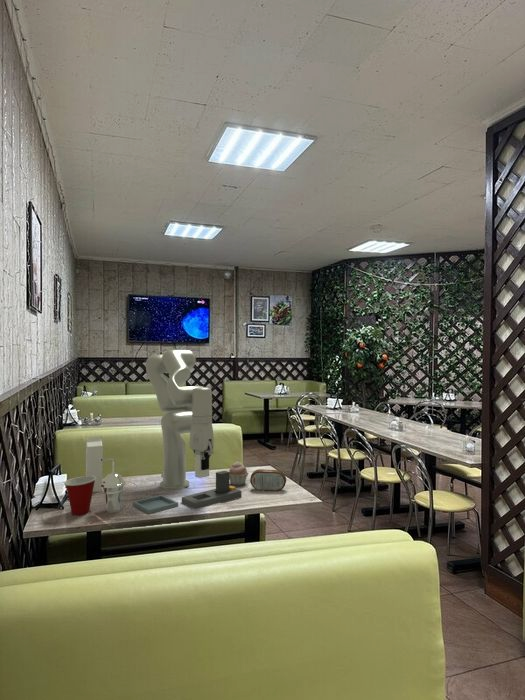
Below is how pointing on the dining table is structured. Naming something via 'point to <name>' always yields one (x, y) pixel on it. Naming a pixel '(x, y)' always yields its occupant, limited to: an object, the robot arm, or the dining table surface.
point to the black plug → (222, 482)
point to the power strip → (210, 497)
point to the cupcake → (237, 474)
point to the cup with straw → (112, 489)
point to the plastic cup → (80, 493)
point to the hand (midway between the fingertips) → (202, 468)
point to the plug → (199, 466)
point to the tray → (155, 504)
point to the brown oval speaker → (268, 480)
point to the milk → (95, 461)
